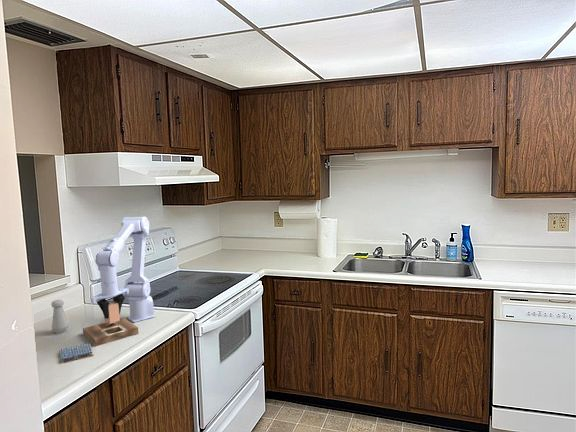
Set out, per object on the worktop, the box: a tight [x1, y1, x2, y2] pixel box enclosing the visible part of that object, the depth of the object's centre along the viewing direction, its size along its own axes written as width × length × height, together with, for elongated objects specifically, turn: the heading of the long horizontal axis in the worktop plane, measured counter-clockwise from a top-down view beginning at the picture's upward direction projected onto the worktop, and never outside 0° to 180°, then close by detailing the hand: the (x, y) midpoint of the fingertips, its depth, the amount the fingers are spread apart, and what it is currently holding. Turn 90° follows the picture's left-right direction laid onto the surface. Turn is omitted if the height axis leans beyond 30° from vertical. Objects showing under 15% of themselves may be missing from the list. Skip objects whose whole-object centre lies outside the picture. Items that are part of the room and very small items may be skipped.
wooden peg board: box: [82, 317, 140, 347], centre depth 167 cm, size 16×16×3 cm
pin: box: [103, 300, 121, 324], centre depth 163 cm, size 4×4×7 cm
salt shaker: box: [50, 299, 69, 334], centre depth 171 cm, size 6×6×13 cm
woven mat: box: [58, 343, 95, 364], centre depth 150 cm, size 10×11×2 cm
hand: (112, 316), depth 163 cm, fingers closed on pin, 4 cm apart
